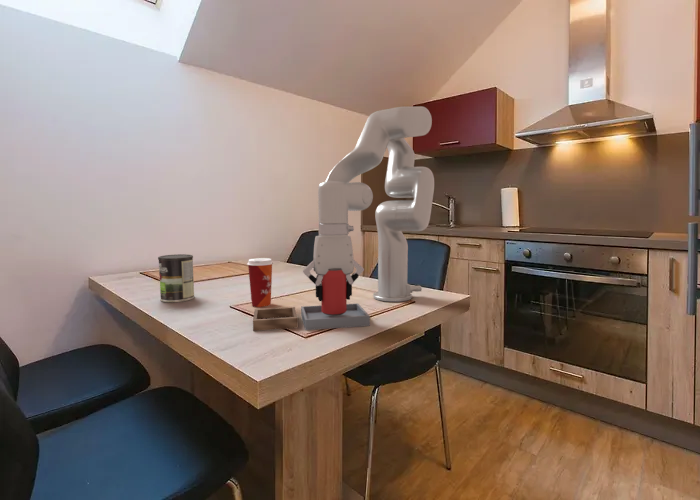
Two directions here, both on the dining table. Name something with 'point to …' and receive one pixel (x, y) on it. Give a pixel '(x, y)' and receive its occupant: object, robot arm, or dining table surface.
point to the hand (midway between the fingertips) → (333, 298)
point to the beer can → (334, 292)
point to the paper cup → (260, 281)
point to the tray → (334, 318)
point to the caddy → (275, 318)
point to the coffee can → (176, 278)
